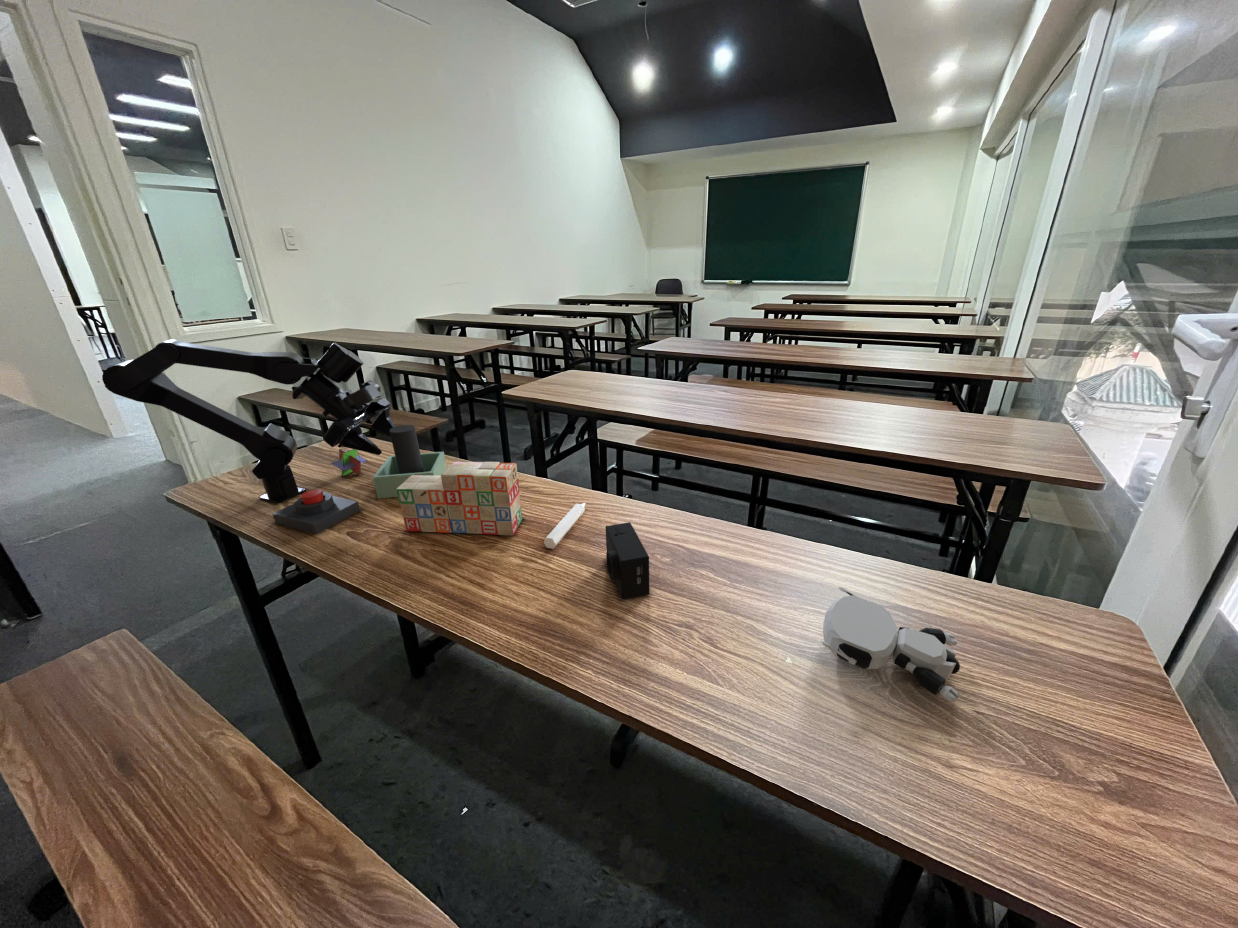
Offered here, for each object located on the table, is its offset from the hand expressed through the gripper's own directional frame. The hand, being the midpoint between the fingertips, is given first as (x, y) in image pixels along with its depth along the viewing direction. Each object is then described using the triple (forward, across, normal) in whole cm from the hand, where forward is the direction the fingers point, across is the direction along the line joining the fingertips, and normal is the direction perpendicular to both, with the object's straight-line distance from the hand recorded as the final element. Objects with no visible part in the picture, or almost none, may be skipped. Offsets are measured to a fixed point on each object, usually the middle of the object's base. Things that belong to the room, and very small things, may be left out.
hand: (391, 445), depth 108 cm
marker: (+37, -18, -23) cm, 47 cm away
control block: (0, -15, +14) cm, 20 cm away
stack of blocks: (+23, -18, -9) cm, 31 cm away
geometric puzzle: (-4, +6, +17) cm, 19 cm away
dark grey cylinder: (+9, 0, +4) cm, 10 cm away
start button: (-2, -15, +11) cm, 19 cm away
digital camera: (+45, -34, -31) cm, 64 cm away
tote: (+9, 0, +4) cm, 10 cm away
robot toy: (+69, -49, -55) cm, 101 cm away
